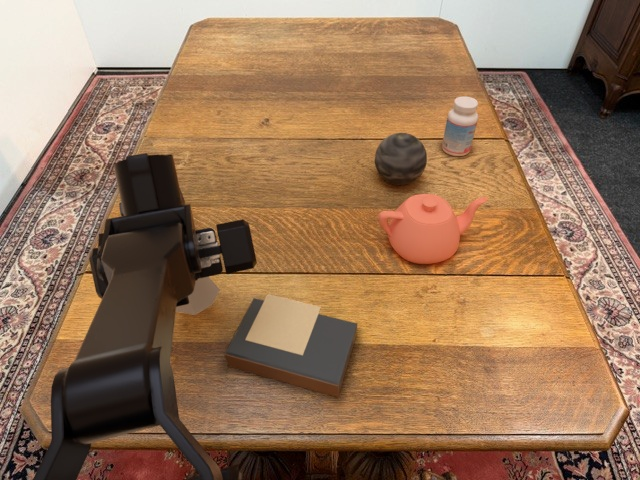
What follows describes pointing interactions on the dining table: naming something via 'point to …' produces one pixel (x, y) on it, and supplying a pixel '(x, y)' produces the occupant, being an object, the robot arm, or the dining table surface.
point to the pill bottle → (460, 126)
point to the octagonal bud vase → (200, 297)
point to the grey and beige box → (293, 344)
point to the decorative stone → (400, 158)
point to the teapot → (427, 228)
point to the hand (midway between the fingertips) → (183, 257)
